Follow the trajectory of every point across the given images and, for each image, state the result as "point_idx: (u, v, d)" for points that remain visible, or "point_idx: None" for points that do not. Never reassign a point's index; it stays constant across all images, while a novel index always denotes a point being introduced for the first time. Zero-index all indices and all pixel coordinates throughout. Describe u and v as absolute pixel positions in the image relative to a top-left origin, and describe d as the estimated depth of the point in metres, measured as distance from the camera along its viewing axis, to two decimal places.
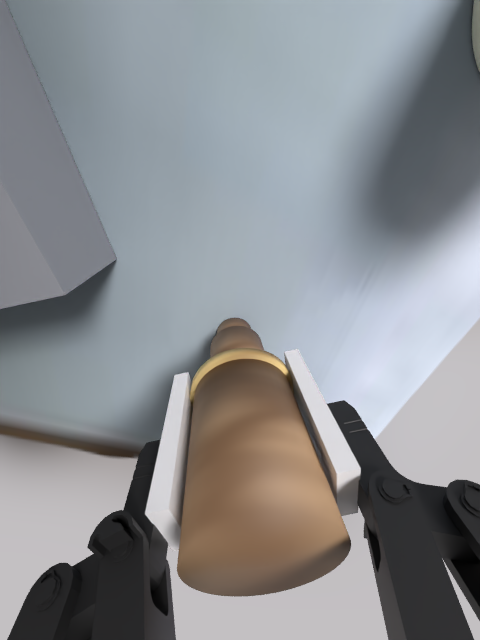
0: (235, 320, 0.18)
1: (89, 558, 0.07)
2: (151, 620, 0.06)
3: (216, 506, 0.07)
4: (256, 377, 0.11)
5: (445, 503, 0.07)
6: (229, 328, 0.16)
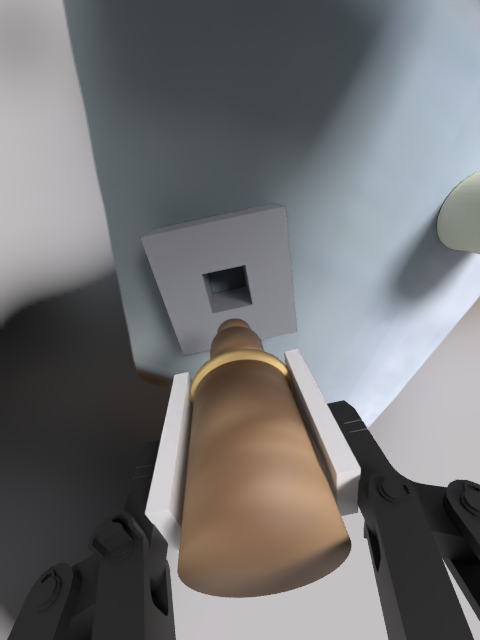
0: (235, 321, 0.18)
1: (89, 558, 0.07)
2: (151, 620, 0.06)
3: (216, 507, 0.07)
4: (256, 378, 0.11)
5: (445, 503, 0.07)
6: (229, 329, 0.16)
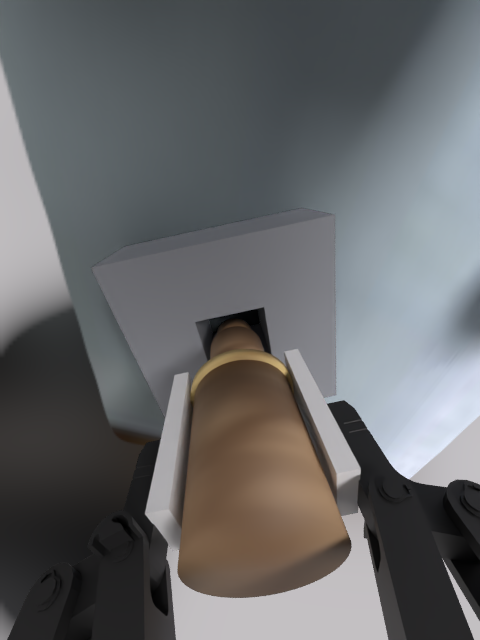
0: (235, 321, 0.18)
1: (89, 558, 0.07)
2: (151, 620, 0.06)
3: (216, 507, 0.07)
4: (256, 378, 0.11)
5: (445, 503, 0.07)
6: (229, 329, 0.16)
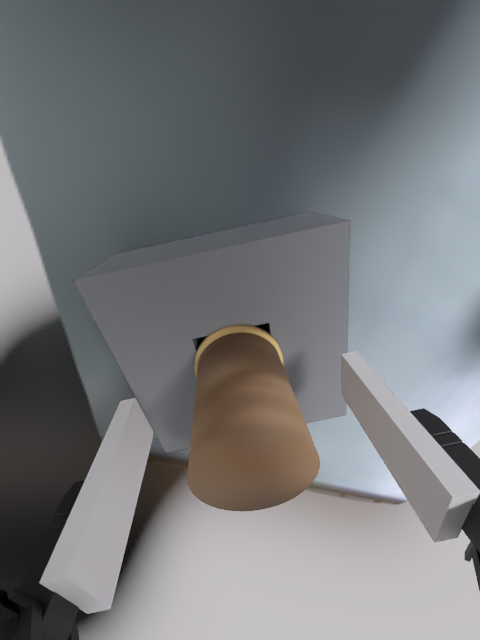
0: None
1: None
2: None
3: (216, 427, 0.09)
4: (249, 345, 0.13)
5: None
6: None
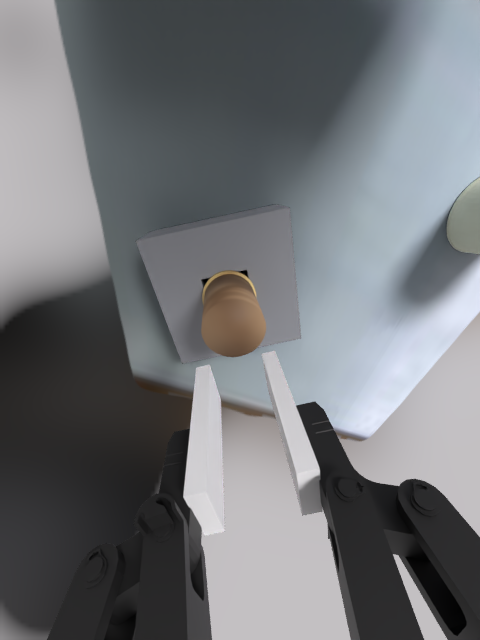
0: None
1: (130, 540, 0.08)
2: (191, 603, 0.06)
3: (215, 302, 0.18)
4: (234, 278, 0.22)
5: (397, 504, 0.07)
6: None
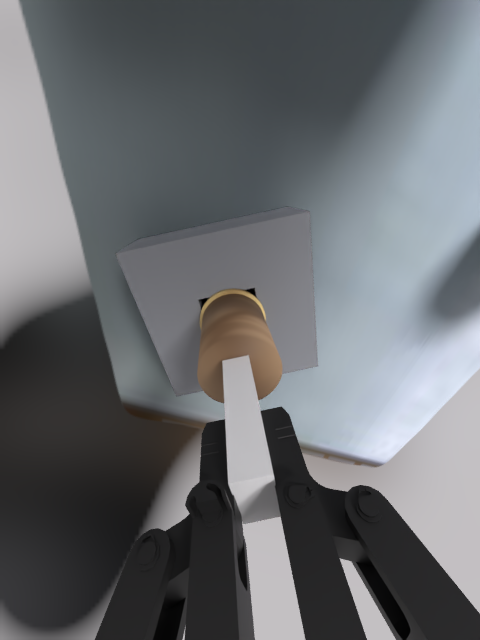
0: None
1: (176, 526, 0.08)
2: (239, 593, 0.06)
3: (215, 339, 0.14)
4: (239, 300, 0.18)
5: (345, 514, 0.07)
6: None
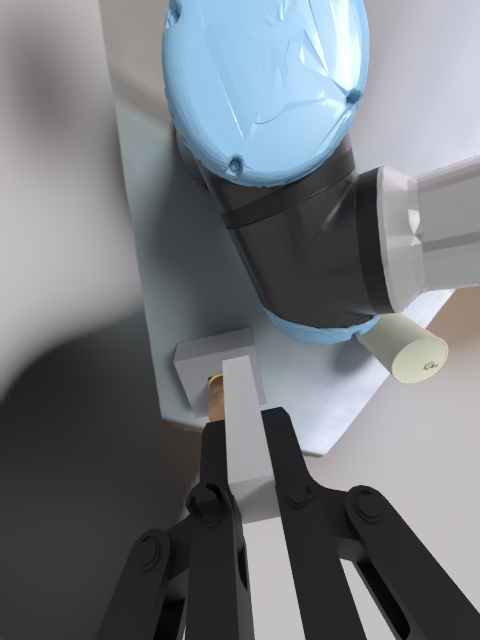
0: None
1: (176, 526, 0.08)
2: (239, 593, 0.06)
3: (215, 403, 0.38)
4: None
5: (345, 513, 0.07)
6: None
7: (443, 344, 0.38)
